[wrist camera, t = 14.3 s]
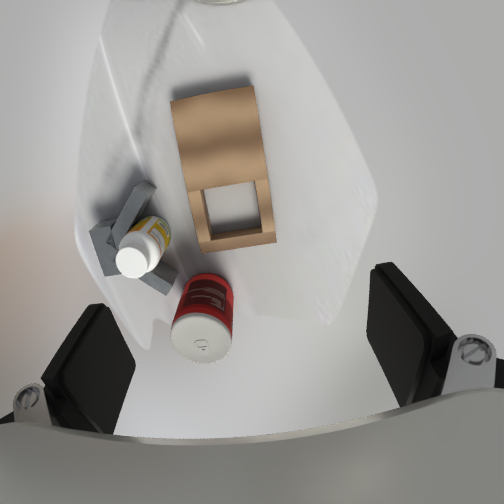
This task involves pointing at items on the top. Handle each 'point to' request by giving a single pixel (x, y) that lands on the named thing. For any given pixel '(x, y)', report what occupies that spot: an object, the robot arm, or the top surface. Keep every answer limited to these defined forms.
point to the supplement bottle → (143, 247)
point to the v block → (113, 231)
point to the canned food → (204, 319)
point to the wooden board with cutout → (223, 160)
